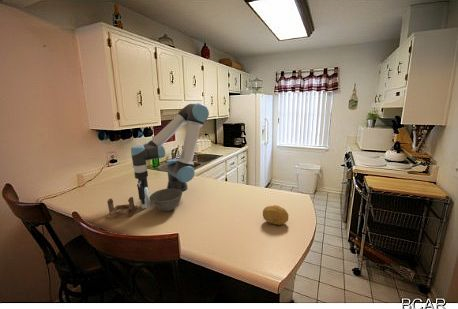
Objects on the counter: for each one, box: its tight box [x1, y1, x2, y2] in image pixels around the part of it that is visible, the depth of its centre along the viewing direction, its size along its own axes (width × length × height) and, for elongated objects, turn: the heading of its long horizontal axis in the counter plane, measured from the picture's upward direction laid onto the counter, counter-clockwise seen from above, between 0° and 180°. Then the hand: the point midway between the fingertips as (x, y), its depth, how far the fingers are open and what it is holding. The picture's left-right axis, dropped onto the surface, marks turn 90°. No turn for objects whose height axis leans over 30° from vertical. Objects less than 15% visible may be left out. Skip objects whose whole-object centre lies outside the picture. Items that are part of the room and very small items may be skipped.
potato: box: [262, 204, 289, 226], centre depth 112 cm, size 10×13×9 cm
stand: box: [105, 196, 138, 220], centre depth 129 cm, size 14×12×9 cm
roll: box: [139, 186, 151, 209], centre depth 136 cm, size 6×6×12 cm
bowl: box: [149, 188, 183, 212], centre depth 131 cm, size 19×19×10 cm
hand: (145, 205), depth 138 cm, fingers closed on roll, 5 cm apart
